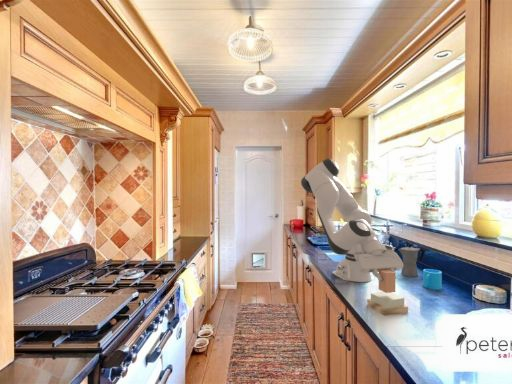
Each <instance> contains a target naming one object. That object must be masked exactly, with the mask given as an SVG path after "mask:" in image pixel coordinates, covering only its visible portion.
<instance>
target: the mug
mask: <svg viewBox="0 0 512 384" xmlns="http://www.w3.org/2000/svg"><path fill="white" fill-rule="evenodd" d="M442 273H443V272H442V271H441V270H438V269H431V268H424V269H422V286H423V287H424V288H426V289H429V290H436V291H437V290H442V288H443V287H442V284H443V283H442V280H443V274H442Z"/></svg>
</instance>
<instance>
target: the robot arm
mask: <svg viewBox="0 0 512 384" xmlns="http://www.w3.org/2000/svg"><path fill="white" fill-rule="evenodd" d="M339 173H340V168H339V165H338V163H337V162H336V161H335V160H333V159H332V158H326V159H324V160H322V161H321V162H320V163H318V164H317V165H315V166H314V167H313V168H312V169H310V171H309V172H308V173H306V175H304V176H303V177H302V178H301V182H300V184H301V187H302V189H303V190H304V191H305V192H306V193H309V194H313V195H314V197H315V199H316V203H317V209H316V212H317V215H318V218H319V220H320V223H321V226H322V228H323V231H324V233H325V235H326V238H327V243H328V247H329V249H330V250H331V252H333V253H334V254H337V255H338V256H339V255H340V256H345V257H344V259H342V260H341V261H339V262H338V263H337V265H336V269H335V270H334V271H332V274H333V275H335V277H338V278H339V279H341V280H343V281H346V282H354V283H355V282H358V283H366V282H371V281H372V275H373V276H374V277H375V278H377V280H378V282H379V281H383V280H384V278H383V276H382V275H380V274H379V270H390V271H393V272H395V273H396V272H397V271H400V270H401V271H402V268H403V261H402V259H401V257H400V256H399V255H398V253H397V252H395V248H394V246H392V245H388V244H384V243H381V242H380V240H379V239H378V238H377V235H376V233H375V231H374V229H373V227H372V220H373V219H372V217H371V215H370V213H369V212H368V211H367V210H365V209H362V207H361V206H360V205H359V203H358V202H357V200H356V199H355V197H354V196H353V195H352V194H351V192H350V191H349V189H348V188H346V186H345V185H344V184H343V183H342V182H341V181H340V180H339V179H338V177H339ZM335 208H336V210H337V211H338V212H339V214H340V215H341V216H342V218H344V220H345V221H346V222H347V223H345V224H344V225H343V226H342V227H341V228H340V229H338V231H337V228H336V226H335V223H334V222H333V218H332V217H333V213H334V210H335ZM371 273H372V274H371ZM396 279H397V277H396V275H395V280H396Z"/></svg>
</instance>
